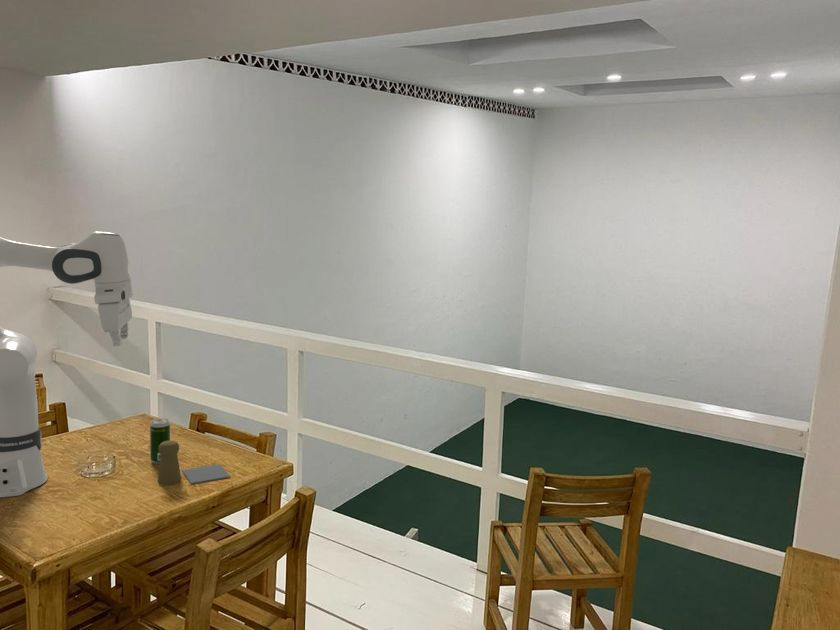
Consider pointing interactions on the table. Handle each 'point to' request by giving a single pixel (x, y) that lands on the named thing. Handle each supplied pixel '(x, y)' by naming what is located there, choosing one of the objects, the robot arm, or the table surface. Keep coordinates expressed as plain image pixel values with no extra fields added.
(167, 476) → the cork
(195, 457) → the table surface
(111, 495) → the table surface
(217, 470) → the mat
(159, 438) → the beer can
